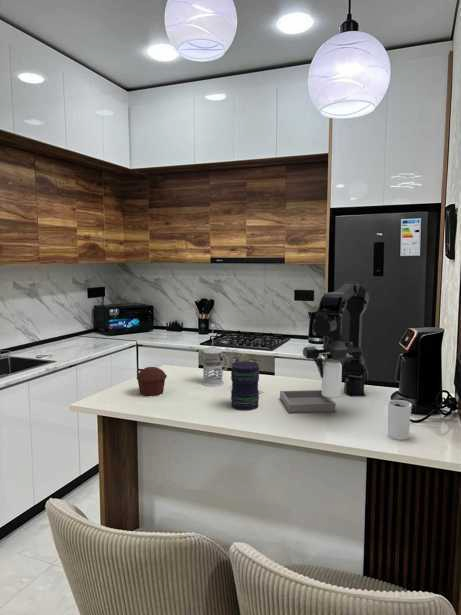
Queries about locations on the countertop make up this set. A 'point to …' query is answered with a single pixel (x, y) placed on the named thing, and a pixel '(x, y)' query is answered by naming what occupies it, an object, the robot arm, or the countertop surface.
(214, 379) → the french press
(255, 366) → the storage jar
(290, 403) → the tray
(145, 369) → the muffin
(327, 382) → the can
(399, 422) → the white cylindrical container
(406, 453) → the countertop surface
